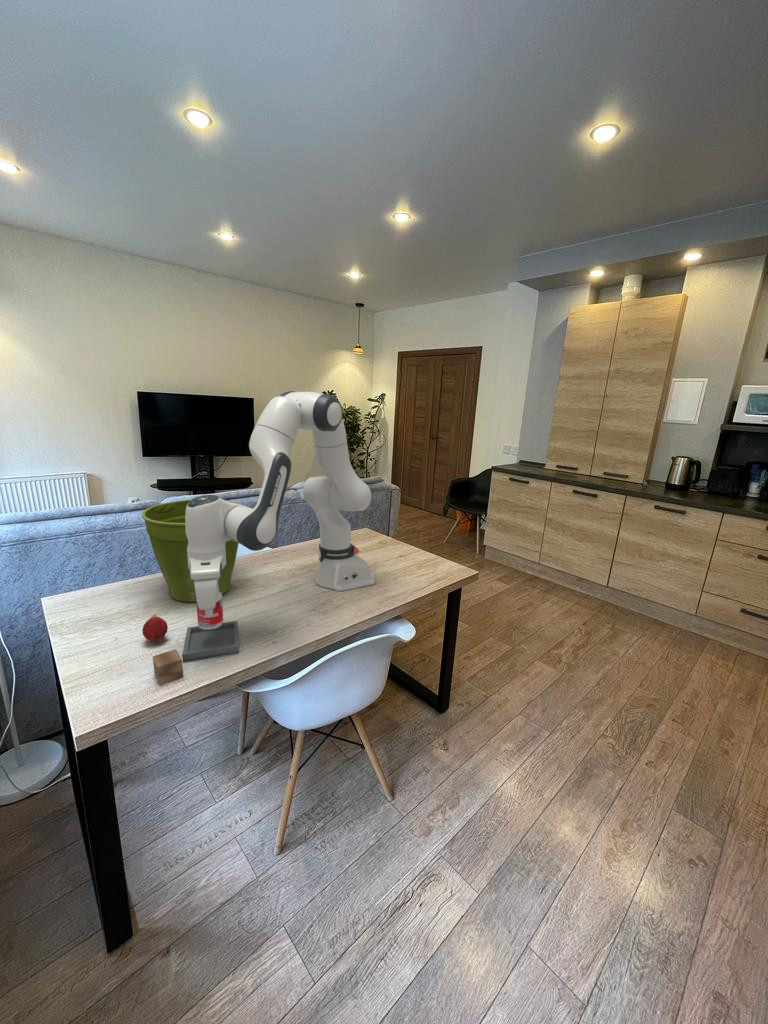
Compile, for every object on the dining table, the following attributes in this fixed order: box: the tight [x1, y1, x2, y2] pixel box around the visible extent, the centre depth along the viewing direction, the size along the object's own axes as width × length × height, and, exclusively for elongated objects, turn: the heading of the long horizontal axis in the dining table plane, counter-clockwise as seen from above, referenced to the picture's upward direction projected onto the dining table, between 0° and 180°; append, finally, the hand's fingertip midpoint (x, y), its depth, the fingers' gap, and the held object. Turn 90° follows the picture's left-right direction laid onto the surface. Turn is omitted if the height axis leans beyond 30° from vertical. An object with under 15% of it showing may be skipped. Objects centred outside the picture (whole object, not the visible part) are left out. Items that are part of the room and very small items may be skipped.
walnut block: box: [152, 648, 184, 687], centre depth 92 cm, size 5×5×5 cm
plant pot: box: [141, 499, 240, 603], centre depth 131 cm, size 30×30×29 cm
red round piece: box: [141, 613, 169, 643], centre depth 105 cm, size 6×6×8 cm
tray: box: [181, 620, 239, 663], centre depth 106 cm, size 13×13×2 cm
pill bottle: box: [196, 585, 224, 630], centre depth 103 cm, size 6×6×11 cm
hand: (210, 608), depth 103 cm, fingers closed on pill bottle, 6 cm apart
